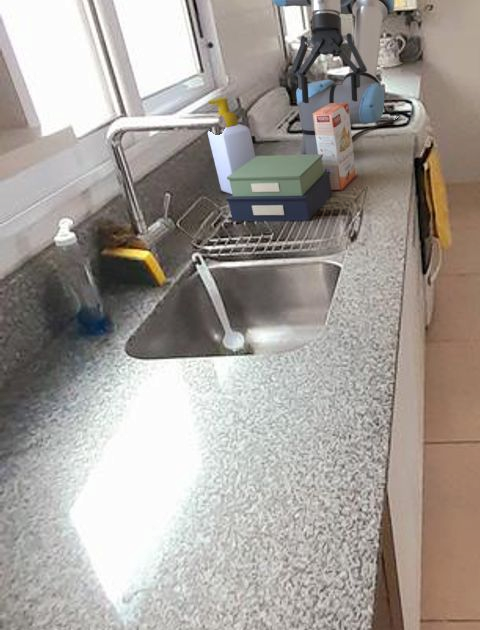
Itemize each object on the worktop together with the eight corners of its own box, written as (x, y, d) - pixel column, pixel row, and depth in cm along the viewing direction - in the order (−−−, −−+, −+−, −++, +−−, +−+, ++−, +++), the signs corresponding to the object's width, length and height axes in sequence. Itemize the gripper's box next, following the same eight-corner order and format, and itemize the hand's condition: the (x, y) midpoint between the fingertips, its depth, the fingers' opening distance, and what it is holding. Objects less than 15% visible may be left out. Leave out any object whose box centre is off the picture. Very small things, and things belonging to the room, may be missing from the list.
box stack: (262, 194, 168) (254, 154, 163) (333, 193, 165) (327, 153, 159) (231, 221, 151) (220, 178, 145) (309, 221, 147) (302, 177, 142)
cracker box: (343, 191, 166) (332, 112, 155) (322, 191, 167) (310, 113, 156) (357, 175, 177) (348, 101, 167) (338, 175, 179) (328, 102, 168)
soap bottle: (219, 191, 173) (197, 100, 160) (246, 183, 178) (227, 94, 166) (236, 197, 167) (215, 103, 155) (263, 188, 173) (245, 96, 160)
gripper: (275, 14, 155) (280, 101, 159) (369, 8, 151) (371, 97, 155) (286, 22, 162) (290, 105, 166) (376, 16, 158) (378, 101, 162)
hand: (329, 101), depth 161 cm, fingers open, 13 cm apart
